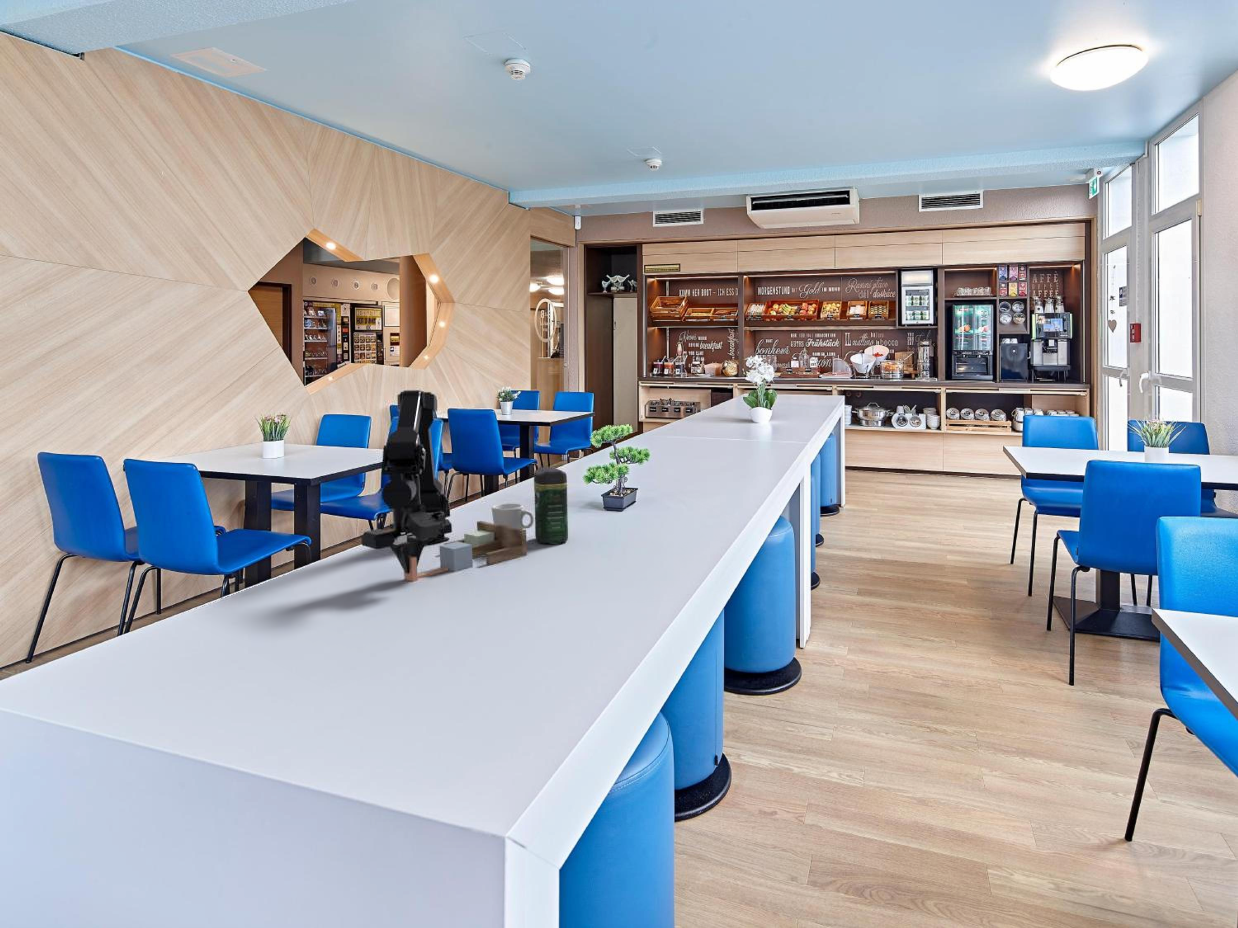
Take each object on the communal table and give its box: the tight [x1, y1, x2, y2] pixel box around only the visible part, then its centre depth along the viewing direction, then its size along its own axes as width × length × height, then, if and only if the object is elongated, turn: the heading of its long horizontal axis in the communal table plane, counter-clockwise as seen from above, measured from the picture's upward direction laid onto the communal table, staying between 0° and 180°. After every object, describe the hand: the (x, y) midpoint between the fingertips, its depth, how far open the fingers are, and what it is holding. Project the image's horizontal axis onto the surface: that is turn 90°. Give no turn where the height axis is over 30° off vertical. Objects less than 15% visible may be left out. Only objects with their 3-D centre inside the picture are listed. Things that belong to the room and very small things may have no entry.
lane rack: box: [443, 520, 528, 566], centre depth 188 cm, size 16×11×6 cm
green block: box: [463, 530, 494, 546], centre depth 191 cm, size 5×5×4 cm
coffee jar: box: [533, 466, 569, 545], centre depth 200 cm, size 10×8×19 cm
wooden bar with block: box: [403, 542, 474, 582], centre depth 173 cm, size 5×15×5 cm, turn 140°
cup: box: [491, 502, 535, 530], centre depth 205 cm, size 11×8×8 cm
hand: (410, 572), depth 168 cm, fingers closed
